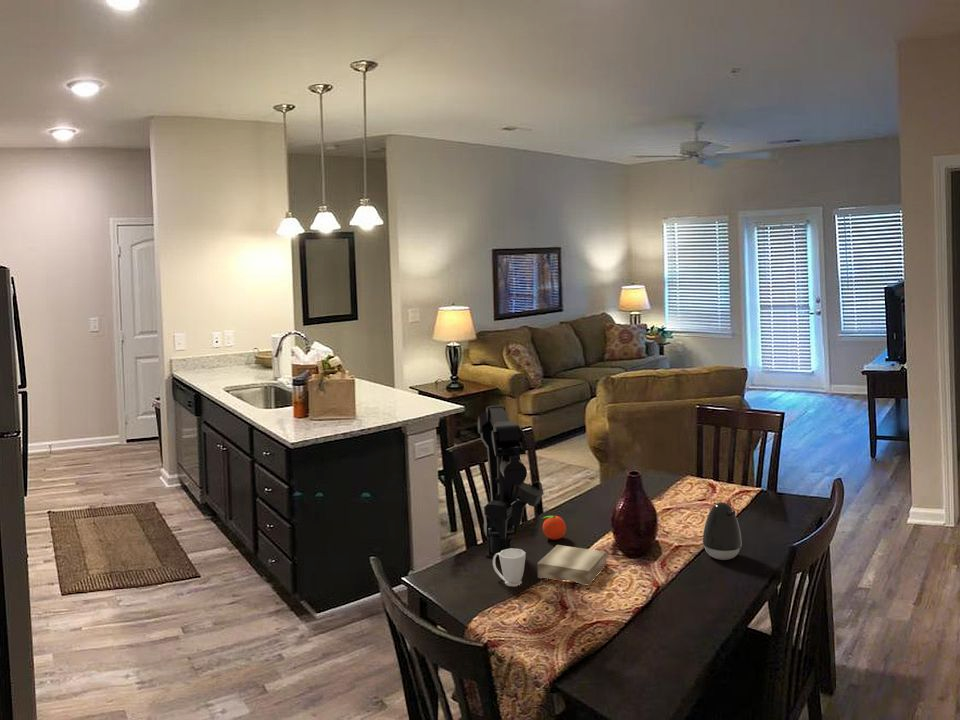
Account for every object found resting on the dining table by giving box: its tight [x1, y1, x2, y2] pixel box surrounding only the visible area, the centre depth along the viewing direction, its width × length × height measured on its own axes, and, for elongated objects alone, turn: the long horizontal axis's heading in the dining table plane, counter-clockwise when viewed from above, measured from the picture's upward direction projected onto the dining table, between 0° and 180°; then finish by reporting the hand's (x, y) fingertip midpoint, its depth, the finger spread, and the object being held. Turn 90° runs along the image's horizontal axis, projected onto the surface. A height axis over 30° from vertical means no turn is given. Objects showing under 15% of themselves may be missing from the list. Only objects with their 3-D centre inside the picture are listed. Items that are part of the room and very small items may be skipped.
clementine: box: [539, 515, 567, 540], centre depth 234 cm, size 8×7×7 cm
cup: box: [492, 548, 527, 587], centre depth 205 cm, size 7×10×8 cm
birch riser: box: [536, 544, 607, 585], centre depth 210 cm, size 14×14×4 cm
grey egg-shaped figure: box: [702, 501, 743, 561], centre depth 216 cm, size 10×10×15 cm
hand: (510, 532), depth 204 cm, fingers open, 9 cm apart
